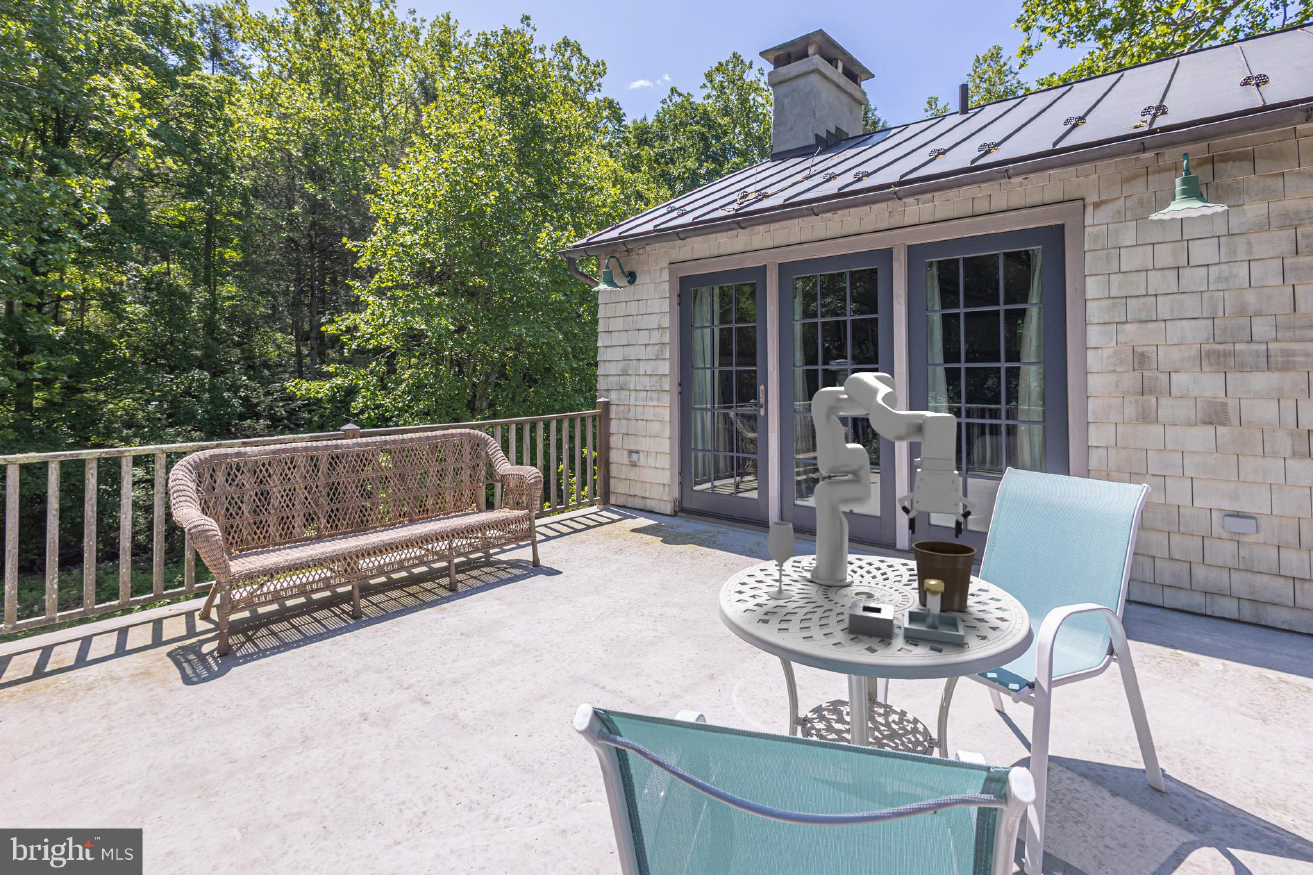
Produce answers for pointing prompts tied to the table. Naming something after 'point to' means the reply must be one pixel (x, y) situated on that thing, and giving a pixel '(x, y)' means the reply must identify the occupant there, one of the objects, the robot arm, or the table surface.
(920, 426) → the robot arm
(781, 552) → the wineglass
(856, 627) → the block
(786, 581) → the table surface
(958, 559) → the plant pot
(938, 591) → the pin
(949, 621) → the tray
